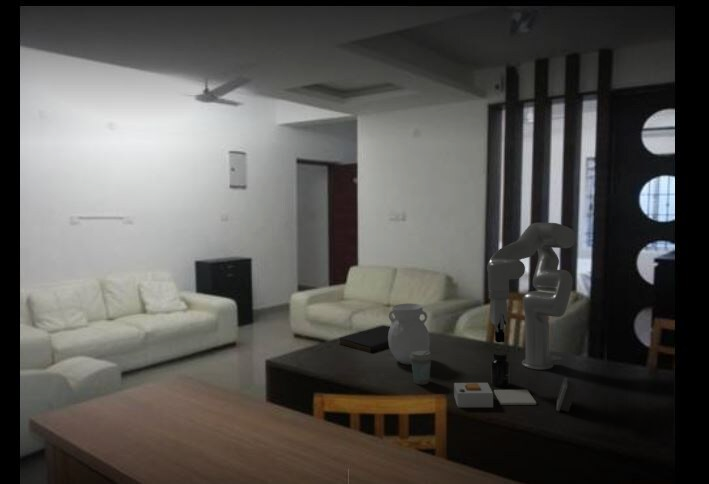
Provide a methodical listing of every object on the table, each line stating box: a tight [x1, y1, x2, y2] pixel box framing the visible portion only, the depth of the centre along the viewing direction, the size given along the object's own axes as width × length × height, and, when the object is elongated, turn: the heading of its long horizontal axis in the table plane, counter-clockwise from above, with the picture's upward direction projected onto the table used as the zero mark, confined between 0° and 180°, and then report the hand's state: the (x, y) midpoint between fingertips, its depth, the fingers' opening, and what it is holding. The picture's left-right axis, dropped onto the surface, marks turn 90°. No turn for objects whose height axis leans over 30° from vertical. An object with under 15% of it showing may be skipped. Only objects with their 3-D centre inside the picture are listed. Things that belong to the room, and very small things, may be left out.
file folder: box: [338, 325, 390, 354], centre depth 261 cm, size 33×4×24 cm
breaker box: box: [453, 382, 494, 408], centre depth 179 cm, size 12×10×5 cm
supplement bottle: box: [490, 351, 511, 388], centre depth 195 cm, size 7×7×12 cm
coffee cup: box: [410, 350, 433, 386], centre depth 200 cm, size 9×8×12 cm
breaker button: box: [465, 382, 480, 391], centre depth 179 cm, size 4×4×4 cm
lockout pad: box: [493, 389, 537, 406], centre depth 181 cm, size 12×12×1 cm
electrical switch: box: [556, 377, 576, 413], centre depth 171 cm, size 9×5×9 cm, turn 158°
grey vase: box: [388, 303, 431, 365], centre depth 226 cm, size 19×18×25 cm
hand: (499, 341), depth 194 cm, fingers closed
